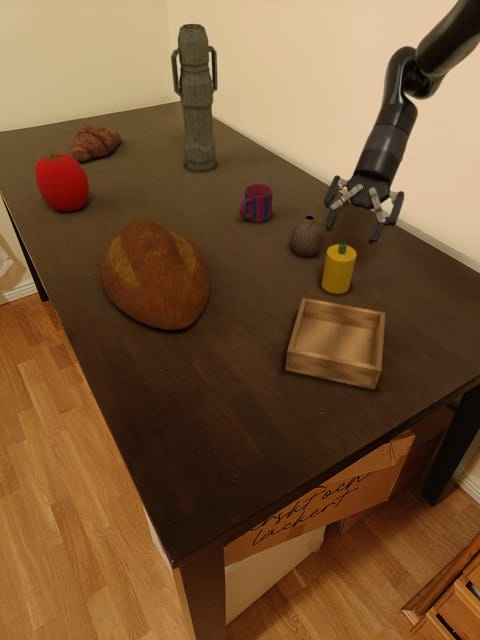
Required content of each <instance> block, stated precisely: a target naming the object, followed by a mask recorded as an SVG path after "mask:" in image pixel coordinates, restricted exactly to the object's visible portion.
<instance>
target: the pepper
mask: <svg viewBox="0 0 480 640" xmlns="http://www.w3.org/2000/svg"><path fill="white" fill-rule="evenodd" d="M357 254H358V253H357V251H356V250H355V249H354V248H353V247H352V246H350V245H347V244H346V243H340V244H333V245H330V246H329V247H328V248H327V250H326V253H325V260H324V268H323V273H322V278H321V287H322V288H323V289H324V290H325V291H326V292H328V293H330V294H335V295H339V294H340V295H341V294H344V293H346V292H348V291H349V289H350V285H351V281H352V277H353V274H354V269H355V268H354V267H355V264H356V260H357V256H358V255H357Z"/></svg>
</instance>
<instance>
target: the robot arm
mask: <svg viewBox="0 0 480 640" xmlns="http://www.w3.org/2000/svg"><path fill="white" fill-rule="evenodd" d="M479 44H480V0H457V1H456V2H455V4H454V5H453V7H452V8H451V9H450V10H449V11H448V13H446V15H445V16H444V17H443V18H442V19H441V20H440V21H439V22H438V23H437V24H436V25H434V26H433V28H432V29H430V31H428V33H427V34H426V35H425V36H424V37H423V38H422V39H421V40H420V41H419V43H418V45H417V46H416V47H414V46H410V45H404V46H402V47H400V48H398V49H397V50H396V51H395V52H393V54H392V55H391V57H390V59H389V61H388V63H387V65H386V69H385V73H384V78H383V79H384V81H383V91H382V98H381V103H380V108H379V111H378V114H377V116H376V118H375V120H374V121H375V122H374V123H373V127H372V129H371V131H370V133H369V135H368V136H367V139H366V140H365V143H364V145H363V148H362V151H361V153H360V155H359V158H358V161H357V163H356V165H355V168H354V171H353V173H352V175H351V177H350V178H349V179H348V180H347V179H344V178H341V176H340V175H339V174H337V175H335V176H334V177H333V179H332V181H331V184H330V185H329V187H328V190H327V192H326V194H325V196H324V198H323V204H324V206H325V208H327V209H328V210H329V211H328V214H327V216H326V219H325V221H324V226H325V229H326V231H327V232H332V231H333V229H334V227H335V224H336V221H337V218H338V216H339V214H338V213H339V212H342V211H343V210H344V209H346V208H348V207H350V206H351V205H353V207H355V208H362V209H364V210H366V211H370V210H374V213H375V216H376V219H377V221H376V222H375V223H374V226H373V228H372V230H371V232H370V236H369V238H368V240H367V241H368V244H370V245H374V243H377V242H378V241H379V239H380V237H381V235H382V232H383V230H384V228H385V227H386V226H390V227H394V226H396V225H397V222H398V219H399V216H400V214H401V210H402V207H403V204H404V201H405V192H404V191H402V190H399V191H398V192H397V191H392V190H391V187H392V185H393V182H394V179H395V177H396V175H397V173H398V170H399V168H400V164H401V163H402V161H403V159H404V155H405V153H406V150H407V146H408V142H409V138H410V136H411V134H412V131H413V129H414V127H415V124H416V122H417V119H418V116H419V109H418V107H417V106H416V104H415V103H414V102H413V101H412V100H411V99H410V98H413V99H415V100H418V101H424V100H428V99H430V98H432V97H433V96H434V95H435V94H436V93H437V91H438V90H439V88H440V86H441V85H442V83H443V81H444V79H445V78H446V76H447V75H448V73H449V72H450V71H451V70H453V69H454V68H455V67H456V66H457V65H459V64H460V63H461V62H463V61H464V60H465V59H467V57H469V56H470V55H471V54H472V53H473V52H474V51H475V50H476V48H477V47H478V45H479ZM408 96H409V97H410V98H408ZM344 188H346V190H347V192H346V193H344V194H343V195H341V196H340V197H339V199H337V200H336V197H337V195H338V192H339V191H342V190H343V189H344ZM389 198H390V200H391V204H392V205H393V206H392V208H391V212H390V214H389V216H385V214H384V211H383V208H382V204H383V203H385V201H387V200H389ZM335 200H336V201H335Z"/></svg>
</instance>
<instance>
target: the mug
mask: <svg viewBox="0 0 480 640" xmlns="http://www.w3.org/2000/svg"><path fill="white" fill-rule="evenodd" d="M272 207H273V188H272V187H271V186H270V185H268V184H264V183H254V184H250V185H246V187H245V188H244V199H243V200H242V202H241V203H240V206H239V215H240V217H242V218H243V219H245V220H248V221H249V222H253V223H264V222H266V221H268V220H270V219H271V218H272V209H273V208H272Z"/></svg>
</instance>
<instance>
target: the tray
mask: <svg viewBox="0 0 480 640" xmlns="http://www.w3.org/2000/svg"><path fill="white" fill-rule="evenodd" d="M385 325H386V312H384V311H379V310H373V309H367V308H362V307H356V306H352V305H345V304H340V303H335V302H330V301H323V300H318V299H313V298H307V297H302V298H301V301H300V304H299V308H298V312H297V316H296V318H295V323H294V326H293V328H292V333H291V336H290V339H289V344H288V346H287V351H286V358H285V367H284V368H285V369H284V370H285V371H287V372H292V373H297V374H301V375H306V376H311V377H315V378H319V379H323V380H328V381H332V382H337V383H342V384H346V385H351V386H354V387H360V388H365V389H370V390H376V388H377V385H378V382H379V379H380V376H381V373H382V371H383V370H382V369H383V355H384V342H385V341H384V339H385Z"/></svg>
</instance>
